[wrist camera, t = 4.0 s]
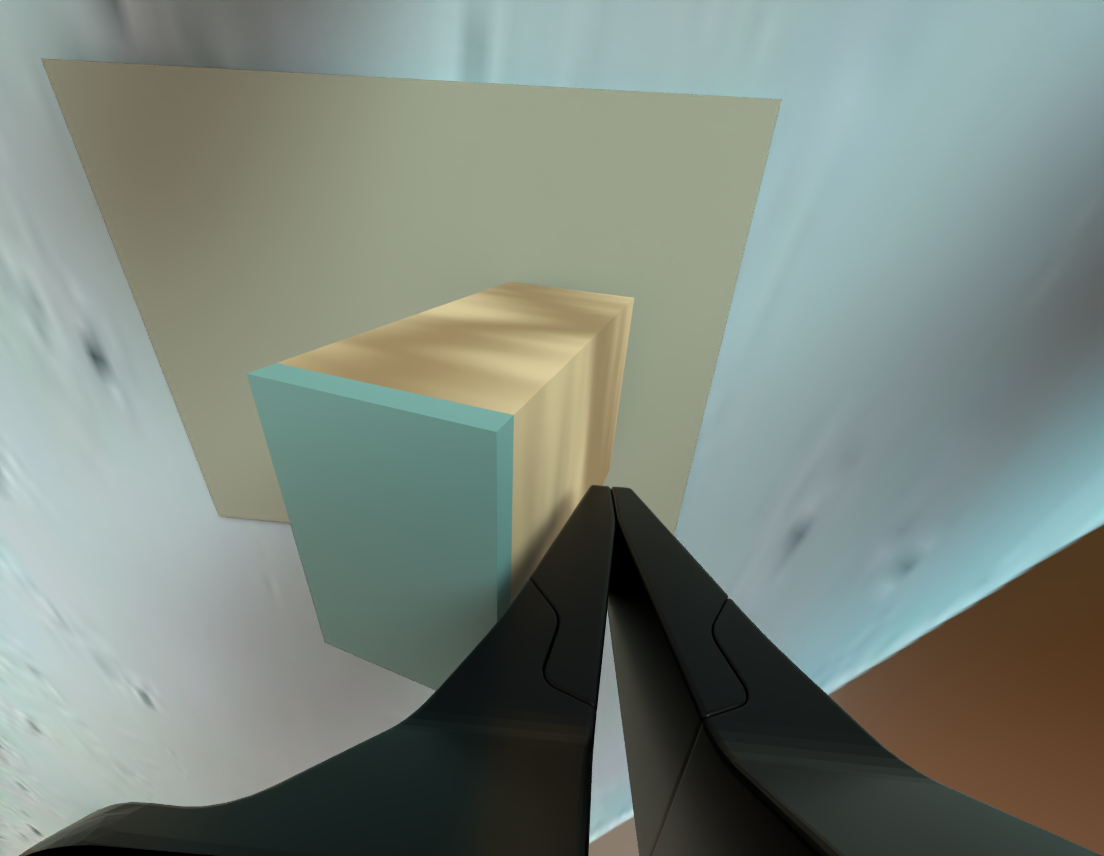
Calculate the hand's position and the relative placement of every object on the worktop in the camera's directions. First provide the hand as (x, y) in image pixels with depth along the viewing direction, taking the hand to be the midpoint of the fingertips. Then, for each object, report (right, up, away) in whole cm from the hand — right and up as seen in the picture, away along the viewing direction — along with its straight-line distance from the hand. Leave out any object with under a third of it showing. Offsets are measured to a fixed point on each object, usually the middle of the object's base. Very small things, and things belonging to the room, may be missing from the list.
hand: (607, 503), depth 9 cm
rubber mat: (-6, +4, +7) cm, 10 cm away
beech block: (-1, +3, +6) cm, 6 cm away
